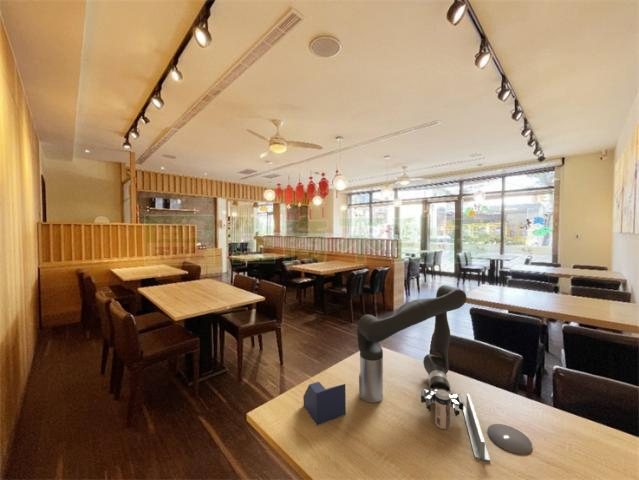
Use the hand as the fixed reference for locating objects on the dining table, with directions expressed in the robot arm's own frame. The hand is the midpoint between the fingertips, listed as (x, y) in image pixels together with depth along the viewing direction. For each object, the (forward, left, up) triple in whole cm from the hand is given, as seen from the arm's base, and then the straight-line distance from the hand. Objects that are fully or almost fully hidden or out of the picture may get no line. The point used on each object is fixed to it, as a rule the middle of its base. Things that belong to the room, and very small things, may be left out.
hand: (443, 411), depth 94 cm
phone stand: (-42, -3, -7) cm, 43 cm away
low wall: (+10, +2, -6) cm, 12 cm away
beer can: (0, +2, -7) cm, 7 cm away
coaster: (+20, +2, -6) cm, 21 cm away
